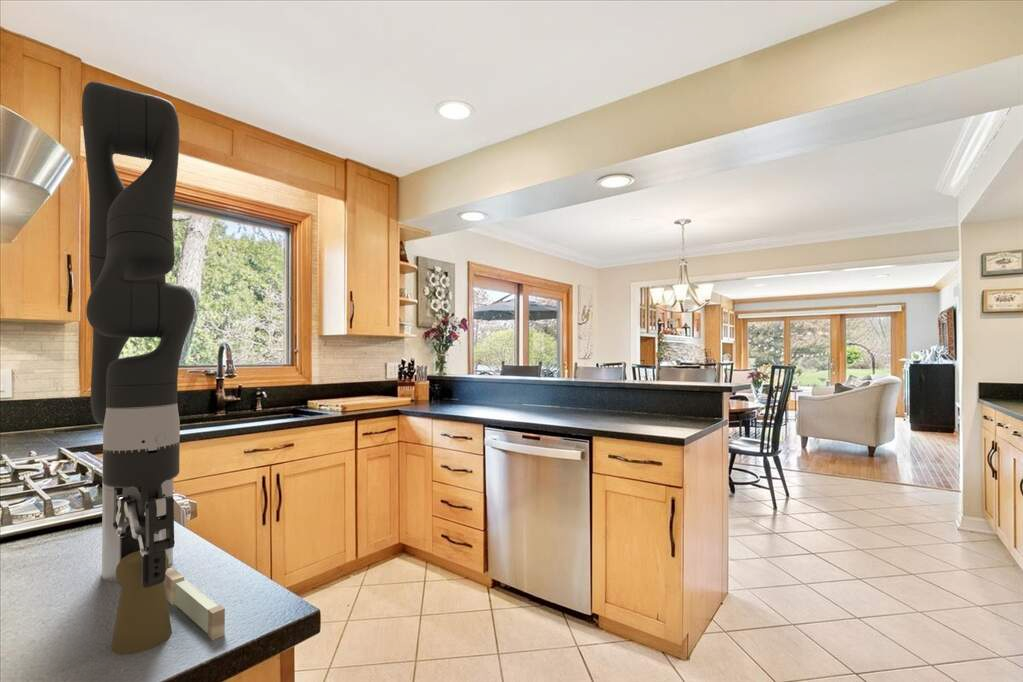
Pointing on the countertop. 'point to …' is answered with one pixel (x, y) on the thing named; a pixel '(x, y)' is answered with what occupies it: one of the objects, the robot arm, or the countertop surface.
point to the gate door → (193, 603)
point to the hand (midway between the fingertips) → (141, 574)
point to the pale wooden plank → (214, 614)
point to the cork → (139, 610)
